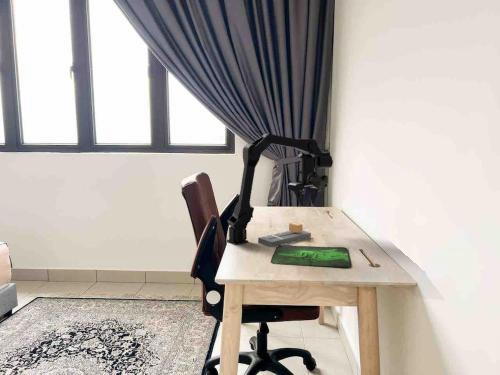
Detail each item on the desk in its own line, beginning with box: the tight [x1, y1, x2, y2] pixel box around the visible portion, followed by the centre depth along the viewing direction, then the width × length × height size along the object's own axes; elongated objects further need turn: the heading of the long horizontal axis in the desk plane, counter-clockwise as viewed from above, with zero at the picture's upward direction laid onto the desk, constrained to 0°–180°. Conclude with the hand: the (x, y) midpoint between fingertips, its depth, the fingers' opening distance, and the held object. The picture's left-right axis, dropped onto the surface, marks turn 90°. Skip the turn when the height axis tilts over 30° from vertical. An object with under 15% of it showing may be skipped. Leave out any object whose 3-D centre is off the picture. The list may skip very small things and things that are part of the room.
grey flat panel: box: [257, 230, 312, 248], centre depth 156 cm, size 22×8×2 cm, turn 128°
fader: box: [288, 222, 304, 233], centre depth 159 cm, size 3×5×4 cm
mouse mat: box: [270, 244, 352, 269], centre depth 136 cm, size 27×22×1 cm
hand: (307, 205), depth 162 cm, fingers open, 7 cm apart
